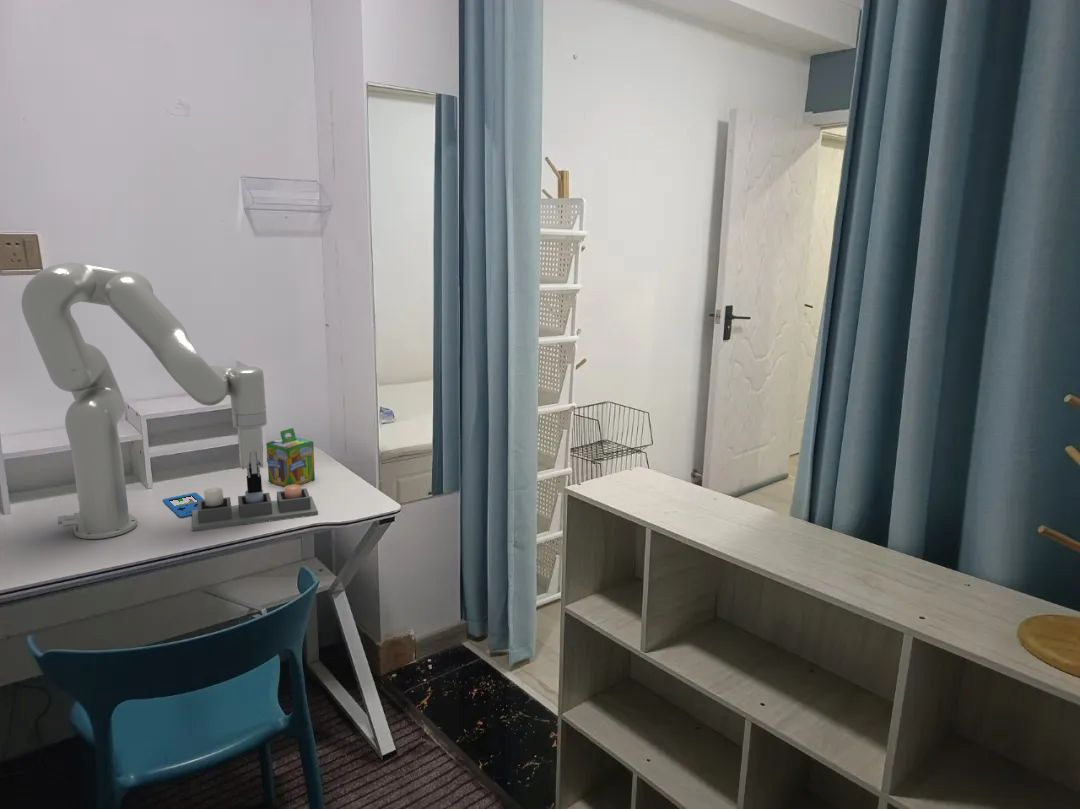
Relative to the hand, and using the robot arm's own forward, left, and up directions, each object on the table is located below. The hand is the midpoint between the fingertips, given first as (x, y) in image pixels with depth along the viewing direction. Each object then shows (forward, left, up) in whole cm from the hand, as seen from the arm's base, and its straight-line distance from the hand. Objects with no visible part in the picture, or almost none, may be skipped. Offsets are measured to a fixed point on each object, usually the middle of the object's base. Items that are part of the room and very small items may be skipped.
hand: (254, 491), depth 176 cm
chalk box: (+11, +22, -6) cm, 25 cm away
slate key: (0, 0, -3) cm, 3 cm away
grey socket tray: (0, 0, -6) cm, 6 cm away
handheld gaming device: (-15, +12, -7) cm, 20 cm away
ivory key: (-9, 0, -2) cm, 9 cm away
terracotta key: (+9, 0, -3) cm, 9 cm away
